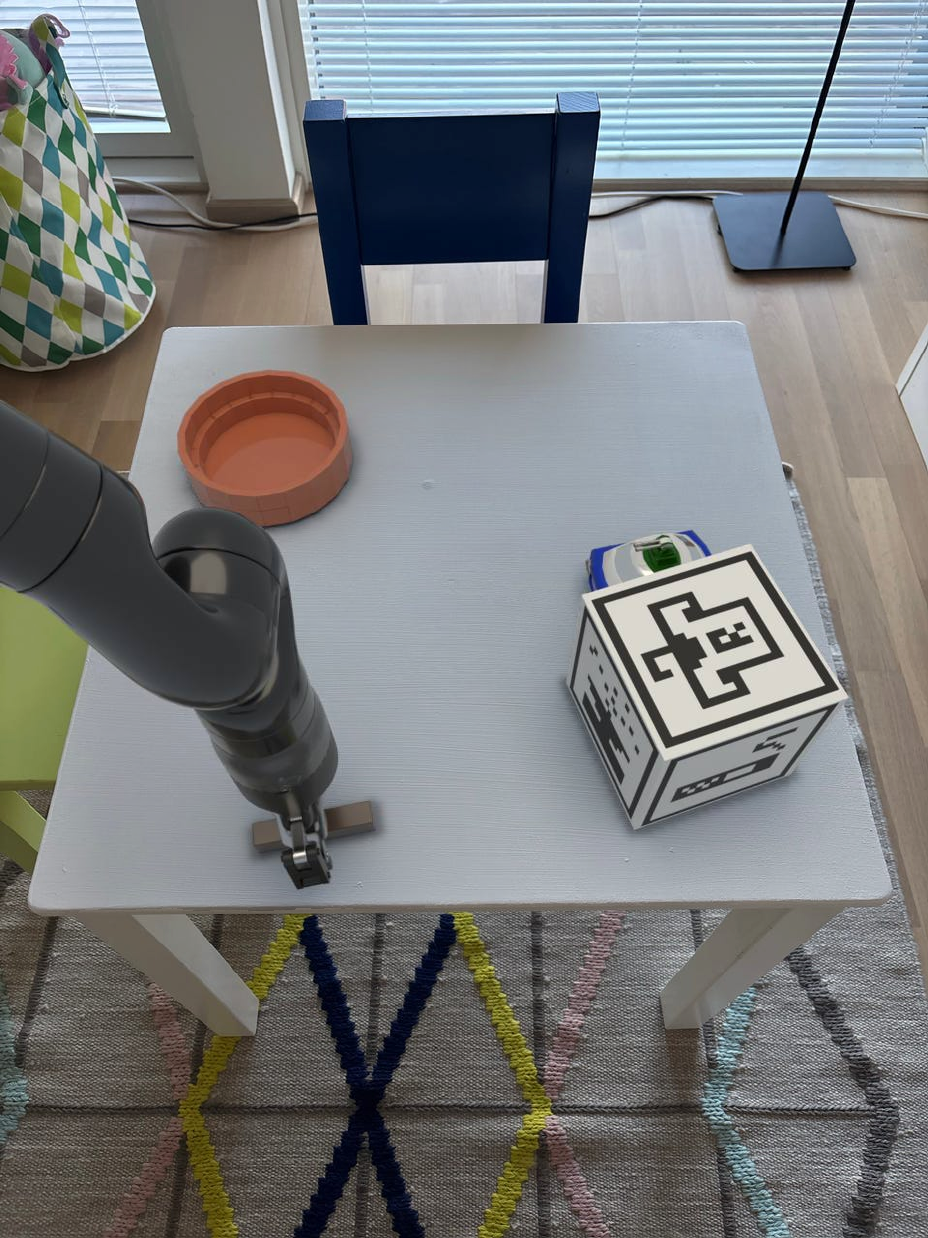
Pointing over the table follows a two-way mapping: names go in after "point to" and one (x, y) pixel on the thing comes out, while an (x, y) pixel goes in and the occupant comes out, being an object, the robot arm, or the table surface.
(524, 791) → the table surface
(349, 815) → the stick
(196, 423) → the bowl
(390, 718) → the table surface
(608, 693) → the block
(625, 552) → the toy car
